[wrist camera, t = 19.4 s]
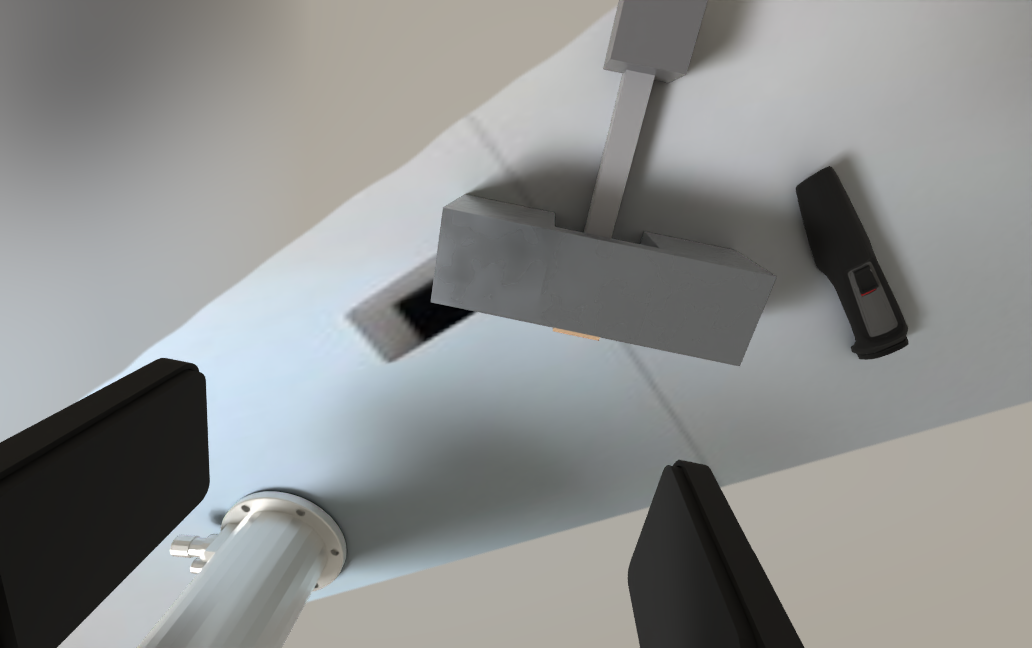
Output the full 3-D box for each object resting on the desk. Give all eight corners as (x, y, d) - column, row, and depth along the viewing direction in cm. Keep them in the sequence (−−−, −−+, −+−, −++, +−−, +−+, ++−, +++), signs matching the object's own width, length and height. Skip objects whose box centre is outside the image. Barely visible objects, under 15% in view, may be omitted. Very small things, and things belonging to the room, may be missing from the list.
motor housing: (706, 324, 37) (739, 366, 30) (453, 272, 37) (430, 302, 30) (734, 249, 35) (776, 276, 28) (464, 194, 35) (443, 207, 28)
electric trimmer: (828, 151, 32) (856, 152, 29) (901, 335, 36) (931, 352, 33) (774, 181, 33) (794, 185, 30) (850, 357, 37) (875, 376, 34)
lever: (601, 324, 38) (606, 347, 33) (546, 313, 38) (545, 335, 33) (694, -8, 29) (716, -31, 25) (624, -23, 29) (635, -48, 25)
